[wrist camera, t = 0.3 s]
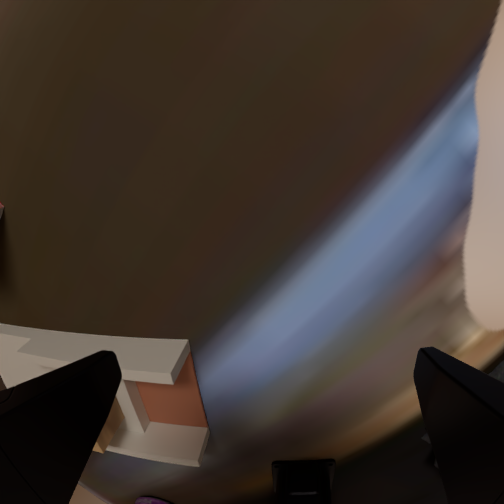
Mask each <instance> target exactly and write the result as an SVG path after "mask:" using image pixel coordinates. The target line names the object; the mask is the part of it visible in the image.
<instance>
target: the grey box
mask: <svg viewBox="0 0 504 504" xmlns="http://www.w3.org/2000/svg"><path fill="white" fill-rule="evenodd" d="M3 209H4V206H3V205H2V204H1V202H0V219H1V216H2V213H3Z"/></svg>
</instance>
